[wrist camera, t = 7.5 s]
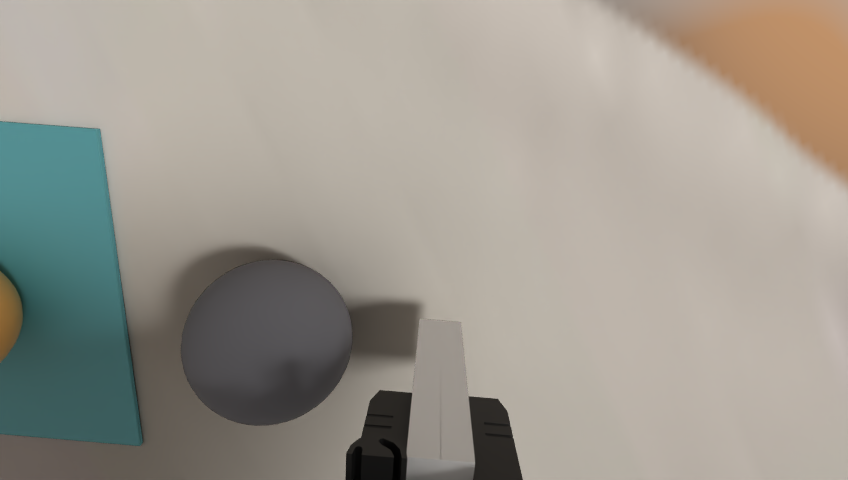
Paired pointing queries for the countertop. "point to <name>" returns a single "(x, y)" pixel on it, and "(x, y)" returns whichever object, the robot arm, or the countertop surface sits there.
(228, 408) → the gray ball
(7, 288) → the object ball
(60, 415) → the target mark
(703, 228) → the countertop surface
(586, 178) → the countertop surface
